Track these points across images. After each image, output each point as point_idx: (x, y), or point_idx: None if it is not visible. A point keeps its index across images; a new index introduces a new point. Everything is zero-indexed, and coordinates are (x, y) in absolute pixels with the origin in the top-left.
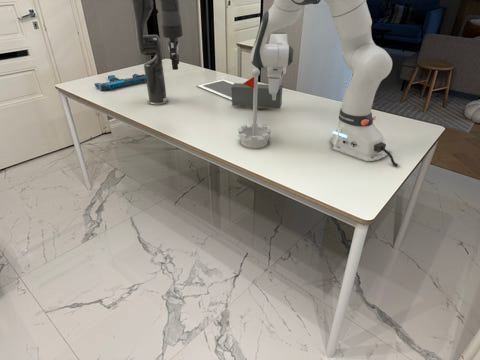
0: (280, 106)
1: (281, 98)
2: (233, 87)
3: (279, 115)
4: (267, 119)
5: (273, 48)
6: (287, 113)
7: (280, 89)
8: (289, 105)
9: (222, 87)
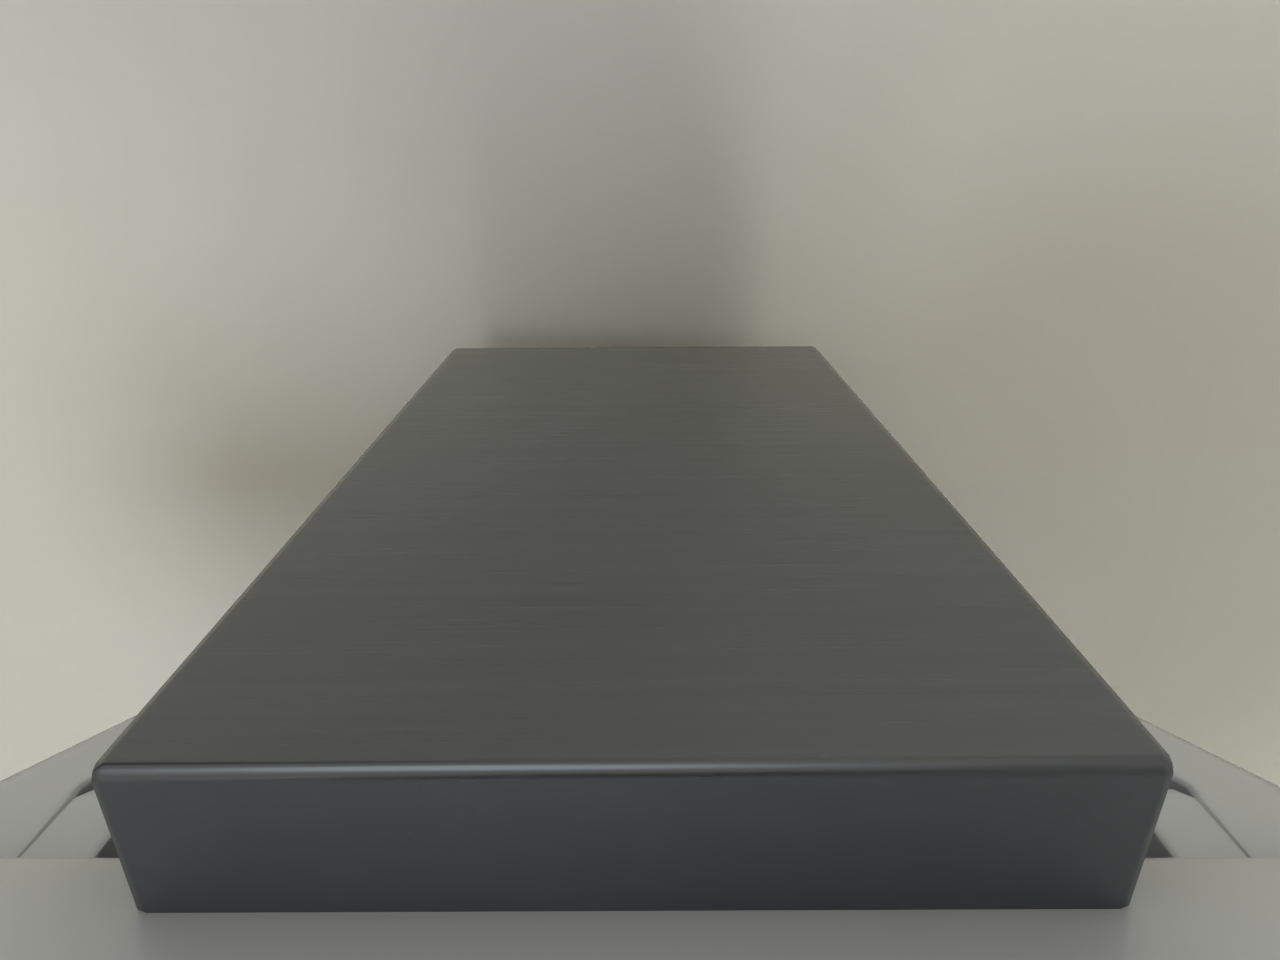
0: (765, 354)
1: (560, 416)
2: None
3: (1001, 305)
4: (1250, 537)
5: None
6: (839, 101)
7: (1149, 770)
8: (200, 115)
9: None
